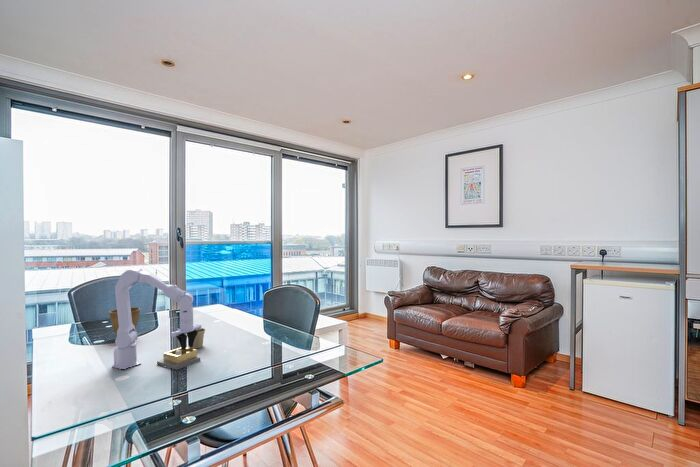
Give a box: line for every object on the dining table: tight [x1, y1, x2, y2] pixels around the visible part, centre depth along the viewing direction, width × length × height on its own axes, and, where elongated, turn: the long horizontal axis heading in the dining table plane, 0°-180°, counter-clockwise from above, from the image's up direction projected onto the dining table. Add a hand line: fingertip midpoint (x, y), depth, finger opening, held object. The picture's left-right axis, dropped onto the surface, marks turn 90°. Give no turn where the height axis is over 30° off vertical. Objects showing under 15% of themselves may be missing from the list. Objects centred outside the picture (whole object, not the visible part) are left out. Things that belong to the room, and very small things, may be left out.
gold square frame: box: [162, 346, 198, 364], centre depth 159 cm, size 10×10×4 cm
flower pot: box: [189, 327, 206, 350], centre depth 180 cm, size 9×9×9 cm
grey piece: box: [156, 350, 201, 371], centre depth 159 cm, size 14×12×6 cm
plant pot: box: [108, 306, 141, 337], centre depth 200 cm, size 15×15×16 cm
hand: (187, 348), depth 162 cm, fingers open, 3 cm apart
